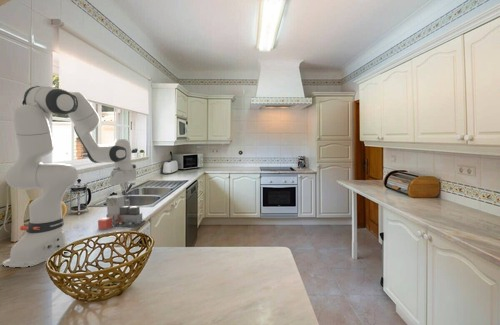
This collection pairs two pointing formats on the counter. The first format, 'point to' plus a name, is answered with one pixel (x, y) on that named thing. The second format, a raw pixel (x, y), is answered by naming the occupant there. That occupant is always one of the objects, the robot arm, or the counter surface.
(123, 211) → the plunger
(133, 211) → the plunger
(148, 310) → the counter surface
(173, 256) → the counter surface
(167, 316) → the counter surface
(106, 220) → the red cube
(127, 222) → the breaker panel
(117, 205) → the circuit breaker
